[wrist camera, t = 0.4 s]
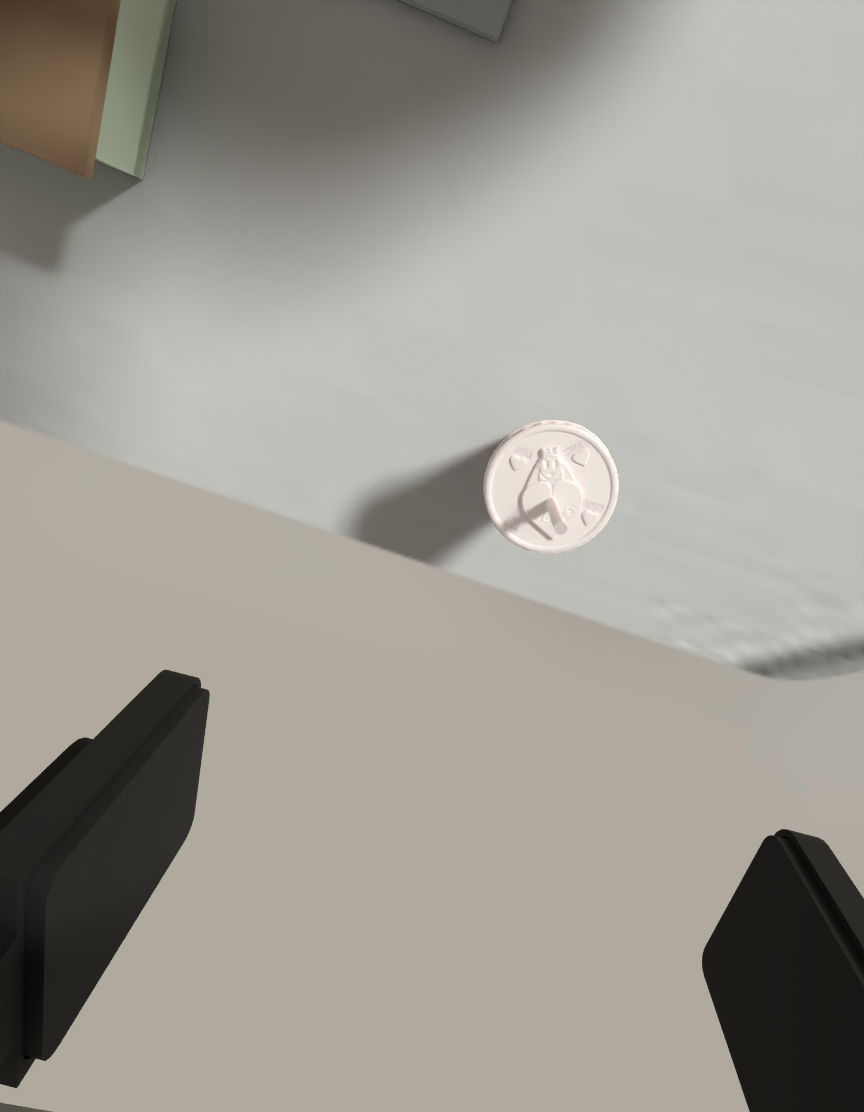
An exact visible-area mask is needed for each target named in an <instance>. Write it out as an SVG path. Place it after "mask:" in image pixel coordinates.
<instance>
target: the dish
mask: <svg viewBox="0 0 864 1112" xmlns="http://www.w3.org/2000/svg"><path fill="white" fill-rule="evenodd" d="M175 4H176V0H121V2H120V9H119V15H118V21H117V27H116V34H115V40H114V46H113V52H112V59H111V65H110V71H109V77H108V84H107V90H106V96H105V102H104V109H103V115H102V121H101V127H100V134H99V140H98V146H97V153H96V159H95V160H96V161H98V162H100V163H103V164H105V165H108V166H110V167H112V168H115V169H117V170H120V171H122V172H125V173H127V174H129V175H132V176H134V177H137V178H139V179H141V180H143V177H144V171H145V166H146V160H147V155H148V150H149V144H150V139H151V133H152V128H153V123H154V117H155V112H156V106H157V101H158V96H159V90H160V85H161V80H162V74H163V69H164V63H165V58H166V53H167V47H168V42H169V36H170V31H171V26H172V20H173V15H174V10H175Z"/></svg>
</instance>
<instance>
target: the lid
mask: <svg viewBox="0 0 864 1112" xmlns="http://www.w3.org/2000/svg"><path fill="white" fill-rule="evenodd" d="M120 2H121V0H0V142H2V143H4V144H6V145H9V146H11V147H14V148H16V149H19V150H21V151H23V152H26V153H28V154H31V155H33V156H36V157H38V158H40V159H43V160H45V161H48V162H50V163H52V164H55V165H57V166H60V167H62V168H65V169H67V170H69V171H72V172H74V173H77V174H79V175H82V176H84V177H87V178H89V179H91V180H92V178H93V171H94V165H95V159H96V153H97V146H98V140H99V134H100V127H101V121H102V115H103V109H104V102H105V96H106V90H107V84H108V77H109V71H110V65H111V59H112V52H113V46H114V40H115V34H116V27H117V21H118V15H119V9H120Z"/></svg>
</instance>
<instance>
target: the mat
mask: <svg viewBox="0 0 864 1112" xmlns="http://www.w3.org/2000/svg"><path fill="white" fill-rule="evenodd" d="M399 1H402V2H404V3H406V4H409V5H411V6H413V7H416V8H418V9H420V10H422V11H425V12H427V13H429V14H432V15H434V16H436V17H439V18H441V19H443V20H446V21H448V22H450V23H453V24H455V25H457V26H459V27H462V28H464V29H466V30H469V31H471V32H473V33H476V34H478V35H480V36H483V37H485V38H487V39H489V40H492V41H494V42H496V43H498V41H499V38H500V35H501V32H502V29H503V27H504V24H505V21H506V18H507V15H508V12H509V9H510V6H511V3H512V0H399Z"/></svg>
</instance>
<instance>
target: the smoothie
mask: <svg viewBox="0 0 864 1112" xmlns="http://www.w3.org/2000/svg"><path fill="white" fill-rule="evenodd" d="M618 490H619V482H618V474H617V470H616V466H615V463H614V461H613V459H612V457H611V455H610V453H609V451H608V449H607V448H606V446H605V445H604V444H603V443H602V442H601V441H600V439H599V438H598V437H597V436H596V435H595V434H593V433H592V432H590V431H589V430H587V429H585V428H584V427H582V426H580V425H577V424H574V423H571V422H568V421H565V420H543V421H539V422H534V423H530V424H527V425H525V426H523V427H521V428H519V429H517V430H515V431H514V432H512V433H511V434H510V435H509V436H508V437H506V438H505V439H504V440H503V441H502V442H501V443H500V444H499V445H498V447H497V448H496V450H495V451H494V453H493V454H492V456H491V457H490V459H489V462H488V465H487V468H486V471H485V474H484V484H483V494H484V499H485V503H486V508H487V511H488V514H489V516H490V518H491V520H492V522H493V524H494V525H495V527H496V528H497V529H498V530H499V532H500V533H501V534H502V535H503V536H504V537H505V538H506V539H508V540H509V541H510V542H512V543H514V544H515V545H517V546H519V547H521V548H523V549H526V550H529V551H533V552H538V553H560V552H565V551H568V550H572V549H574V548H577V547H579V546H581V545H583V544H585V543H586V542H588V541H589V540H591V539H592V538H593V537H595V536H596V535H597V534H598V533H599V532H600V531H601V530H602V529H603V527H604V526H605V525H606V523H607V522H608V520H609V519H610V517H611V515H612V513H613V511H614V508H615V505H616V502H617V498H618Z"/></svg>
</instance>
